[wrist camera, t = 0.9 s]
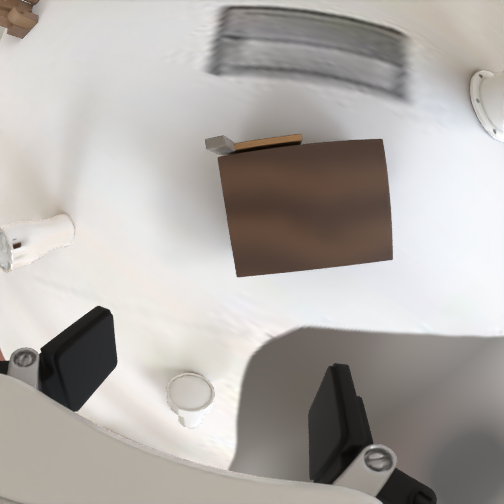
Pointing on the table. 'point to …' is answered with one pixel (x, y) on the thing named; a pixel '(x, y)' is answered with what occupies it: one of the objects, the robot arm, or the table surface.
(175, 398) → the spotlight
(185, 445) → the table surface
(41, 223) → the beer glass
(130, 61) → the table surface
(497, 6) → the table surface
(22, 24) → the wooden toy
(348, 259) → the cabinet
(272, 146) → the sliding door
